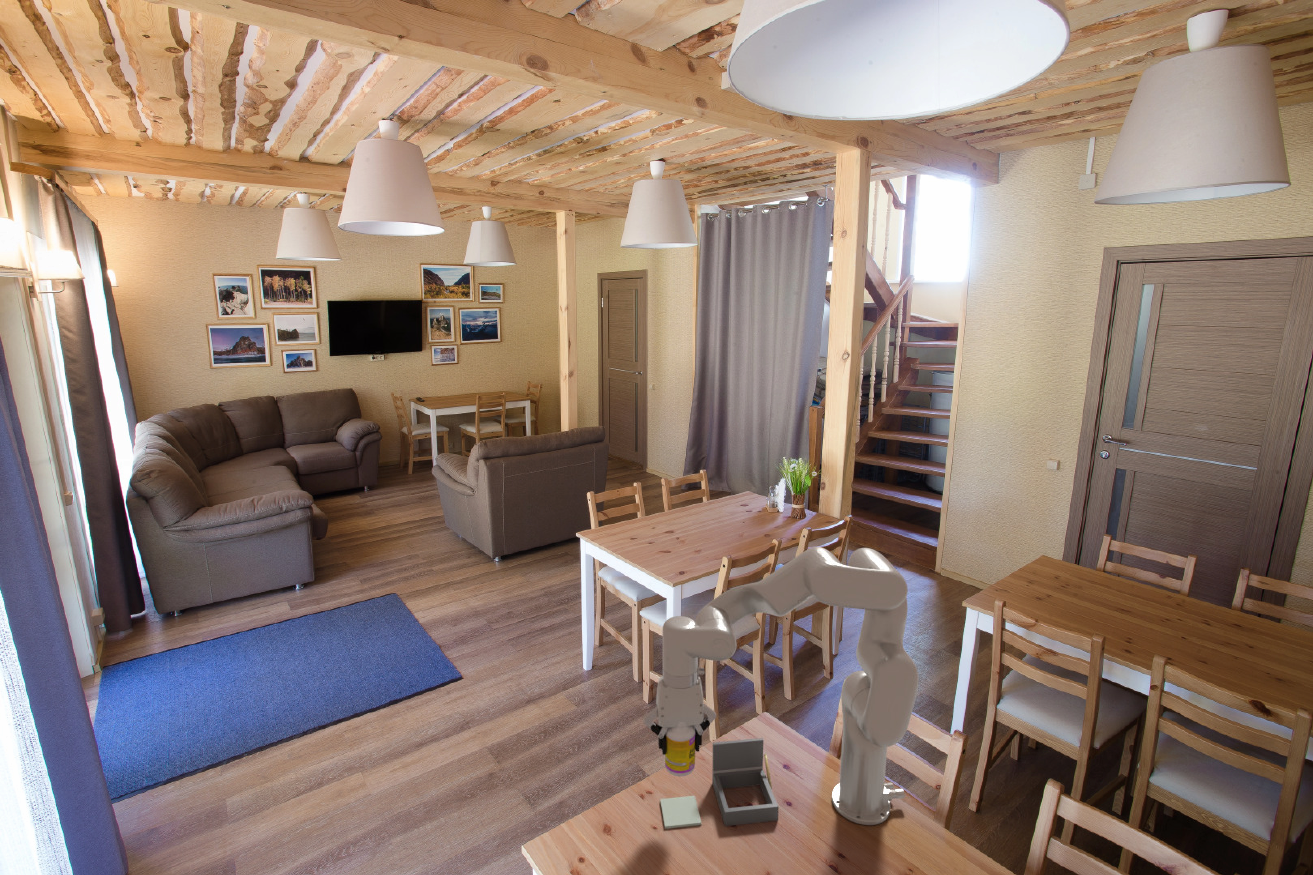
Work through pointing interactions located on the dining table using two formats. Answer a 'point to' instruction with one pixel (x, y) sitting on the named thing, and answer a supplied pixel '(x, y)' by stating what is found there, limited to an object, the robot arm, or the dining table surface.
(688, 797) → the rest pad
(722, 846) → the dining table surface
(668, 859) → the dining table surface
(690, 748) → the supplement bottle
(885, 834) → the dining table surface
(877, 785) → the robot arm
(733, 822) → the case
